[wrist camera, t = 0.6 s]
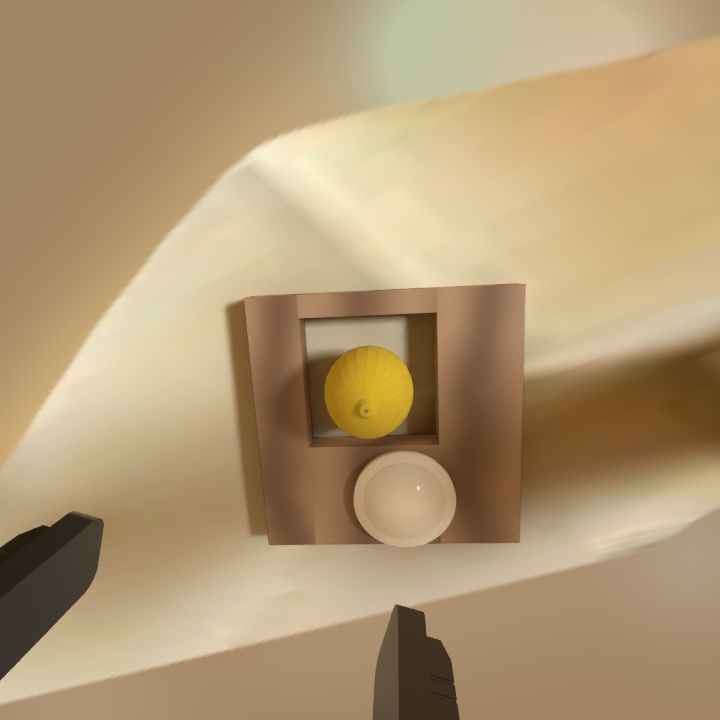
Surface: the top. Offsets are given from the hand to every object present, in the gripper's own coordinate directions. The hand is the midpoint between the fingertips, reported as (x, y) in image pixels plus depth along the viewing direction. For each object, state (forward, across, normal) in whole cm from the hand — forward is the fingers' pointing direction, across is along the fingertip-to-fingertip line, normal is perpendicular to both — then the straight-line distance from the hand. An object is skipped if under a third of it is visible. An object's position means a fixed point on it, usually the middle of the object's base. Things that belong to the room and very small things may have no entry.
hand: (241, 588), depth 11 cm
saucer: (+19, -6, +6) cm, 21 cm away
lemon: (+21, -2, -1) cm, 21 cm away
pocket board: (+20, -4, +1) cm, 21 cm away
